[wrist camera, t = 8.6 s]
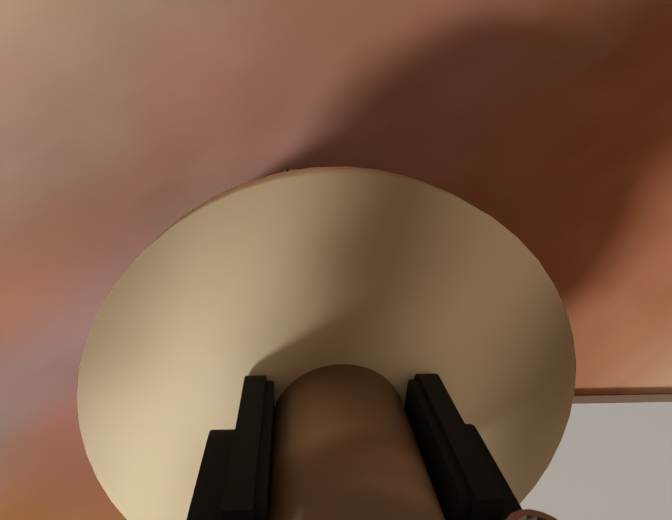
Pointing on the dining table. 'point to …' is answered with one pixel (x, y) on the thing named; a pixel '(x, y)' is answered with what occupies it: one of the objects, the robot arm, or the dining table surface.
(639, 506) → the mat
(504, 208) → the dining table surface
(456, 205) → the lid
